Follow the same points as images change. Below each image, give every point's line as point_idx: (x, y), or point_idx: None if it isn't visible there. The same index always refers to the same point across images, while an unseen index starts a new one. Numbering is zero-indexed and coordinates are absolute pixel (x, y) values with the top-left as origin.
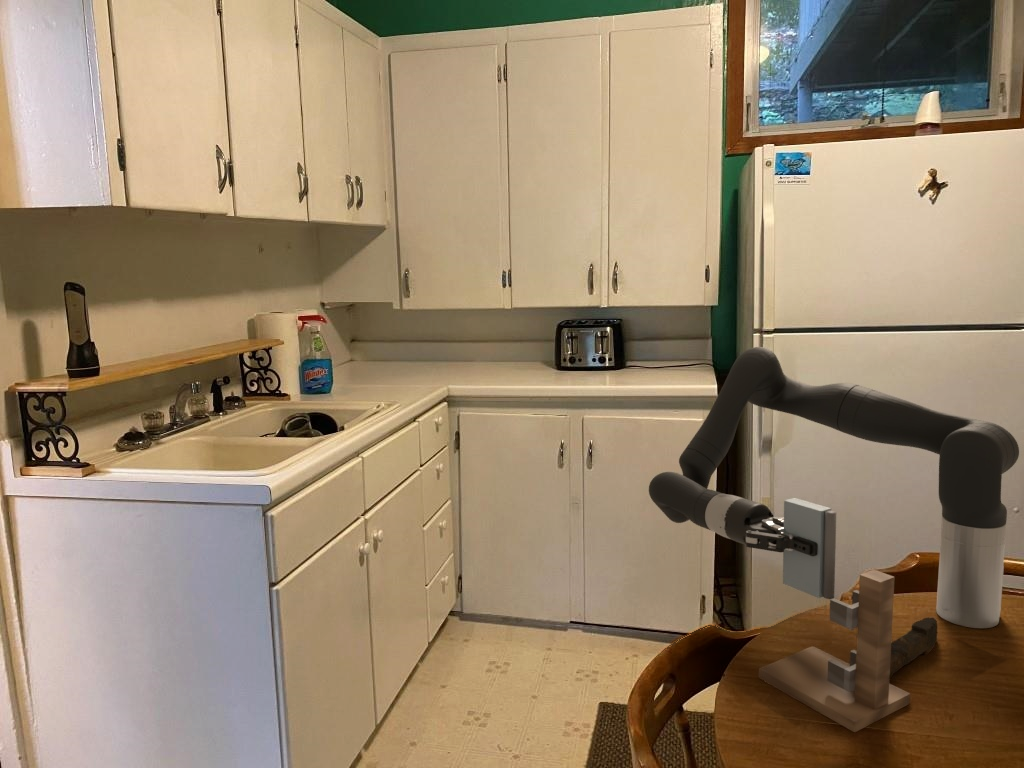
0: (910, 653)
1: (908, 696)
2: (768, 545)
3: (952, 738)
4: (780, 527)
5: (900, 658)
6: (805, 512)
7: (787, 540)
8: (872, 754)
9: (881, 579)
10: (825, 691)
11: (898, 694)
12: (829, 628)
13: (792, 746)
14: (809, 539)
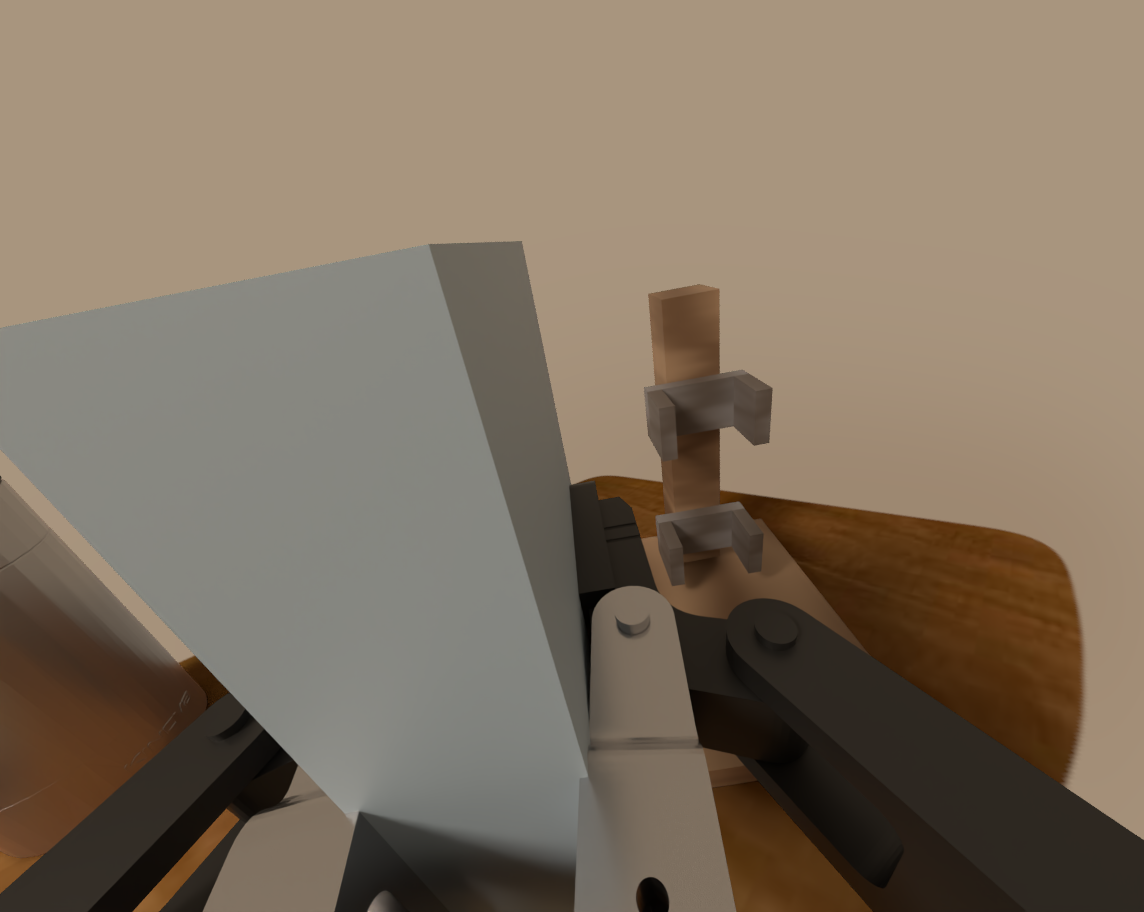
0: None
1: None
2: (897, 854)
3: (628, 501)
4: (624, 824)
5: None
6: (525, 313)
7: (702, 616)
8: (761, 502)
9: (686, 287)
10: (765, 587)
11: None
12: None
13: (896, 534)
14: (570, 511)
